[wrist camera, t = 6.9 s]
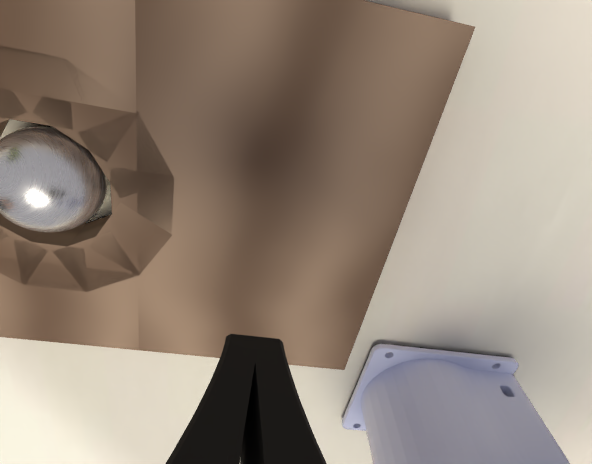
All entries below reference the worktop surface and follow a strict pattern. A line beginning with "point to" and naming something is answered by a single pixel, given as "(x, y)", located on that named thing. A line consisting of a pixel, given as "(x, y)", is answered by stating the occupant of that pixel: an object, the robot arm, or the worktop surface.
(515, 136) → the worktop surface
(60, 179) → the ball
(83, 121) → the deck
